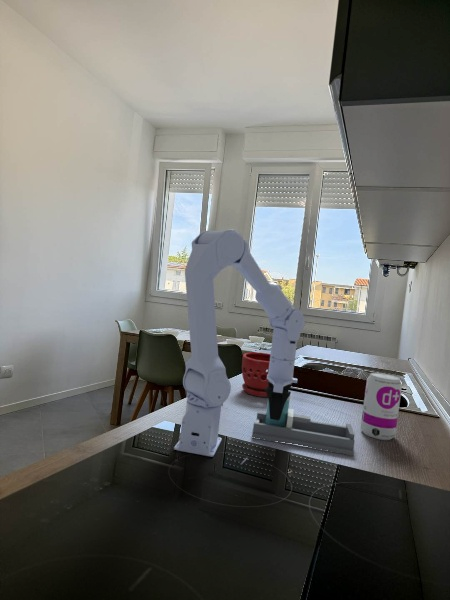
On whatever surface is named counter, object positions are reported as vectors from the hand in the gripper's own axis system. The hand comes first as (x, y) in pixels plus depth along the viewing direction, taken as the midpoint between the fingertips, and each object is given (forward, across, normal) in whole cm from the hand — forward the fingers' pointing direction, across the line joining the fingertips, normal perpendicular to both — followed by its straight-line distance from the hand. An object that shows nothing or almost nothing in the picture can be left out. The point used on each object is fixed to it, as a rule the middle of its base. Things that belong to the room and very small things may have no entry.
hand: (275, 415), depth 98 cm
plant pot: (+4, +34, +6) cm, 35 cm away
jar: (+2, 0, 0) cm, 2 cm away
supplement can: (+4, +12, -26) cm, 29 cm away
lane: (+4, 0, -6) cm, 7 cm away
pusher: (+3, 0, -5) cm, 6 cm away
